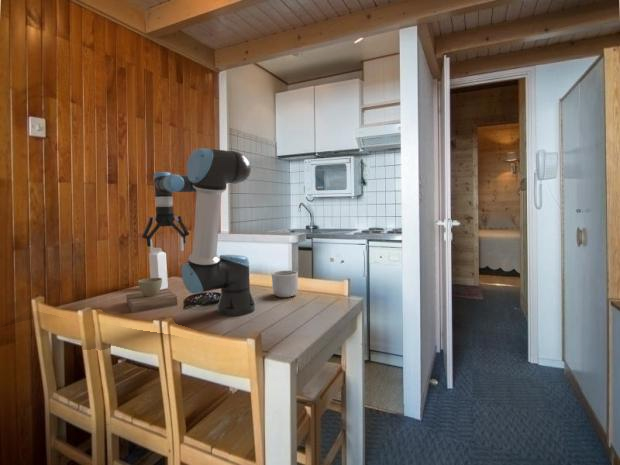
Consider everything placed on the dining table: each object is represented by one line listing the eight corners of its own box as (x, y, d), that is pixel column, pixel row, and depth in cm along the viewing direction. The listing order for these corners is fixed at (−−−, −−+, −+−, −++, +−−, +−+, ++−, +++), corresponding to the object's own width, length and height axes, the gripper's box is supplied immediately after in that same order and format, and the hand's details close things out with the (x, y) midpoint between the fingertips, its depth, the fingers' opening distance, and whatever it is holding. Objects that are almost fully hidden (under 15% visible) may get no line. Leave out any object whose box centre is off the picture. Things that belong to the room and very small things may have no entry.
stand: (177, 305, 156) (176, 296, 155) (132, 312, 146) (131, 303, 145) (168, 296, 171) (167, 288, 170) (126, 303, 161) (126, 294, 160)
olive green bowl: (167, 292, 162) (166, 277, 162) (156, 298, 152) (155, 282, 152) (145, 292, 163) (144, 277, 162) (134, 298, 153) (133, 282, 152)
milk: (159, 287, 192) (157, 246, 190) (168, 287, 189) (165, 247, 188) (150, 289, 186) (148, 248, 185) (159, 290, 184) (156, 248, 182)
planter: (282, 300, 159) (282, 276, 158) (267, 295, 169) (266, 273, 168) (303, 295, 167) (303, 272, 166) (287, 290, 177) (287, 269, 176)
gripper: (189, 205, 172) (191, 248, 173) (132, 207, 157) (136, 254, 159) (194, 205, 166) (196, 250, 167) (136, 206, 151) (139, 255, 153)
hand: (167, 252), depth 163 cm, fingers open, 13 cm apart
